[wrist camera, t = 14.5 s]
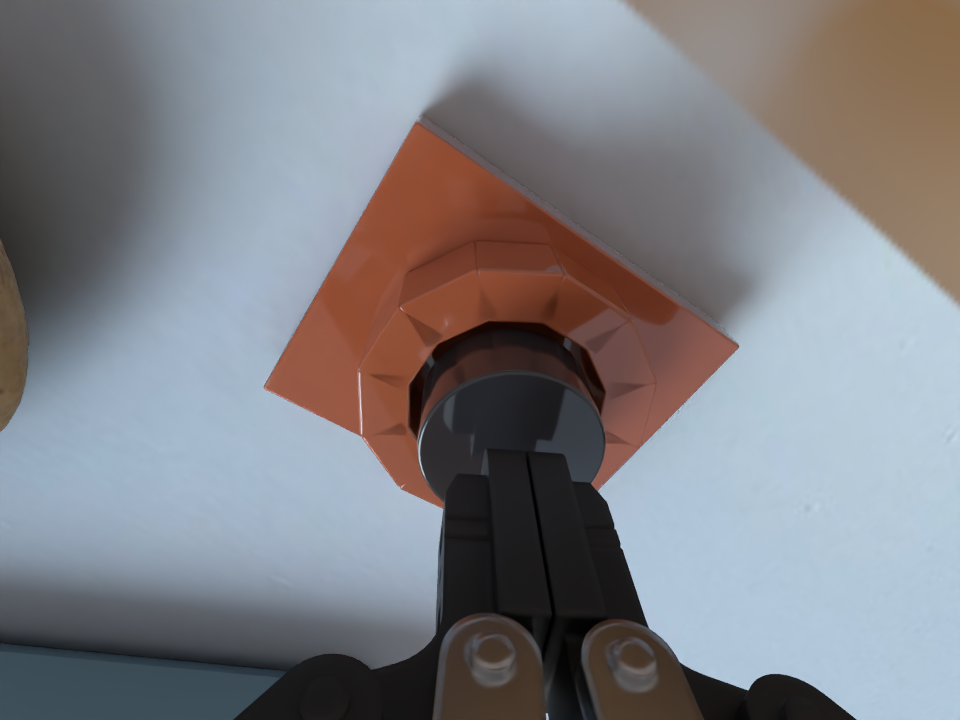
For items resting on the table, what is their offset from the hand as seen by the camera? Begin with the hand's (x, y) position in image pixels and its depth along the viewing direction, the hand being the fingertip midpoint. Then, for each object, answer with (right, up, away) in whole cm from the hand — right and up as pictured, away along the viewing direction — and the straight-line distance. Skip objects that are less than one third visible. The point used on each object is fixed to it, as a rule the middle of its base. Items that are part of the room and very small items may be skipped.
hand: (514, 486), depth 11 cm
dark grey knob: (0, +2, +3) cm, 3 cm away
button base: (0, +3, +5) cm, 6 cm away
